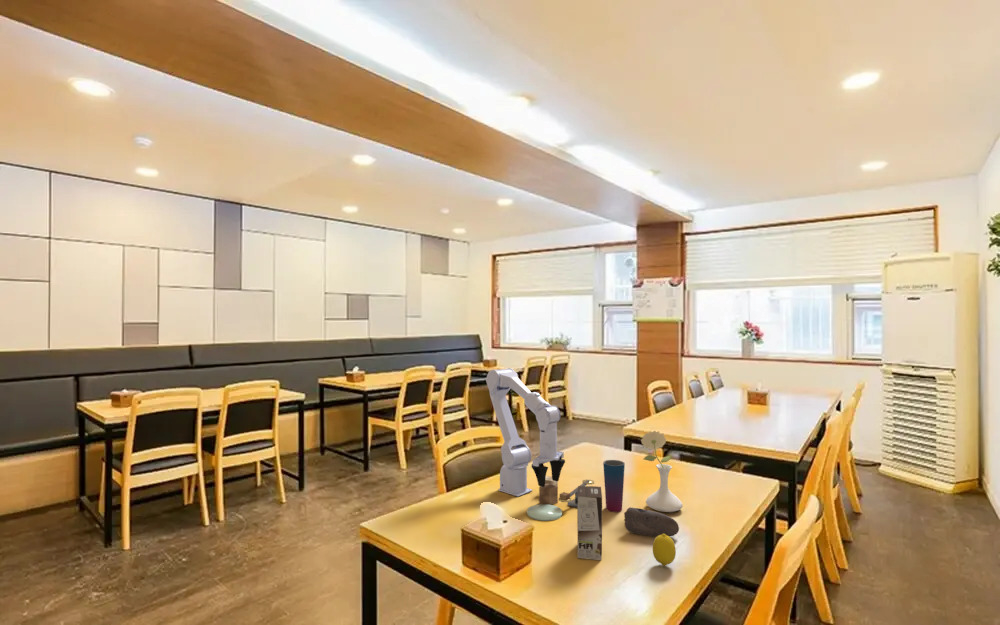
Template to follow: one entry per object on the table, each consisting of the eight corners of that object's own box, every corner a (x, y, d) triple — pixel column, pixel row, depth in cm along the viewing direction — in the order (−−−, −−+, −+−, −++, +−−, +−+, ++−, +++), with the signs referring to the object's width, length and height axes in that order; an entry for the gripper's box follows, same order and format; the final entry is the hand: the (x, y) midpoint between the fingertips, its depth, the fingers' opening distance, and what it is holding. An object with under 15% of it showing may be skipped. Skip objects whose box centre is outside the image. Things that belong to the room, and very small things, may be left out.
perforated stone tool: (679, 535, 148) (679, 510, 148) (678, 542, 143) (678, 517, 143) (625, 527, 153) (625, 504, 153) (623, 534, 148) (623, 510, 148)
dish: (520, 514, 164) (520, 510, 164) (541, 504, 172) (541, 501, 172) (547, 523, 156) (547, 520, 156) (569, 513, 164) (569, 510, 164)
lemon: (649, 561, 132) (649, 529, 132) (670, 560, 133) (670, 529, 133) (657, 571, 127) (657, 539, 127) (679, 570, 127) (679, 538, 127)
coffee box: (602, 560, 133) (602, 497, 133) (577, 558, 134) (576, 496, 134) (601, 545, 142) (601, 486, 142) (578, 543, 143) (577, 484, 143)
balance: (556, 510, 167) (556, 490, 167) (586, 496, 179) (586, 477, 179) (566, 513, 164) (566, 493, 164) (596, 499, 177) (596, 480, 177)
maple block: (541, 495, 181) (541, 479, 181) (546, 491, 185) (546, 475, 185) (552, 497, 179) (552, 481, 179) (557, 493, 183) (557, 477, 183)
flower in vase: (684, 505, 171) (684, 429, 171) (680, 517, 160) (680, 437, 160) (643, 499, 176) (643, 426, 176) (637, 511, 166) (637, 433, 166)
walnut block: (539, 503, 173) (539, 486, 173) (547, 499, 177) (547, 483, 177) (549, 506, 170) (549, 489, 170) (557, 502, 174) (557, 486, 174)
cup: (625, 513, 164) (625, 466, 164) (603, 512, 165) (603, 465, 165) (624, 505, 170) (624, 460, 170) (603, 504, 172) (603, 459, 172)
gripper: (544, 448, 165) (544, 491, 165) (570, 440, 176) (571, 480, 176) (527, 445, 170) (527, 486, 170) (554, 437, 181) (554, 476, 181)
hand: (548, 483), depth 173 cm, fingers open, 7 cm apart
